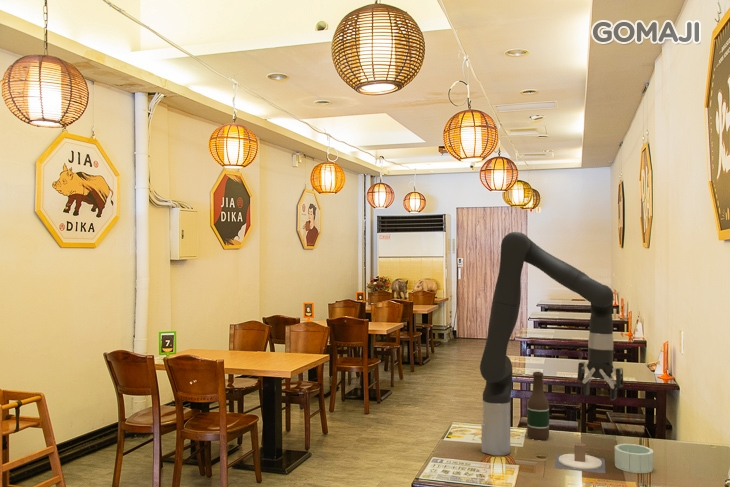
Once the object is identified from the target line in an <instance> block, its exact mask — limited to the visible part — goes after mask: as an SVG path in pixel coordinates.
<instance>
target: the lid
mask: <svg viewBox="0 0 730 487" xmlns="http://www.w3.org/2000/svg"><path fill="white" fill-rule="evenodd" d="M573 450H574V453H567V454H565V453H564V455H561V456H560V457H559V463H560V464H562V465H563V466H566V467H569V468H573V469H579V470H594V469H599V468H600V467H601V466H602V462H601V460H599V459H598V458H599V457H595V456H593V455H588V454H586V443H584V442H574V448H573Z"/></svg>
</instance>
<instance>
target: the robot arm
mask: <svg viewBox="0 0 730 487" xmlns="http://www.w3.org/2000/svg"><path fill="white" fill-rule="evenodd" d="M499 259H500V260H499V270H498V275H497V279H496V282H495V287H494V291H493V297H492V303H491V307H490V313H489V314H490V315H489V320H488V321H489V322H488V329H487V336H486V342H485V345H484V348H483V353H482V356H481V360H480V364H479V371H480V375H481V377H482V378H483V379H484V381H485V387H484V390H483V391H482V423H481V453H484V454H488V455H491V456H506V455H507V456H508V455H510V453H511V396H512V391H513V364H512V361H511V359H510V357H509V356H508V355H507V353H508V352H507V350H508V346H509V342H510V338H511V337H512V334H513V332H514V330H515V328H516V324H517V322H518V319H519V315H520V314H519V313H520V308H521V301H522V286H521V285H522V282H521V280H522V279H521V278H522V271H523V267H524V263H527V264H530V265H531V266H533V267H535V268H536V269H538V270H540V271H542V273H544V274H545V275H547V276H549V278H551V279H552V280H554V281H555V282H556V283H559V284H560V285H561V286H563V287H565V288H566V289H568V290H570V291H571V292H573V293H576V294H578V295H579V296H581V297H582V298H583V299H584V300H586V301H588V302H589V303H590V317H589V329H588V330H589V331H588V332H589V334H588V339H587V340H588V341H587V343H588V344H587V346H588V347H587V348H588V351H587V360H588V361H587V362H588V363H586V362H585V361H581V362H578V365H577V367H578V368H577V378H576V379H577V381H580V382H581V383H582V388H583V389H582V393H583V394H584V396H589V395H590V394H591V392H590V390H591V386H590V382H591V381H592V379H600V380H603V381H605V382H606V383H607V384H608V385H609V387H610V388H609V400H610V401H615V400H616V399H617V398H618V396H617V394H618V389H620V388H623V387H624V368H622V367H614V366H613V363H614V337H613V336H614V334H613V333H614V332H613V330H614V323H613V322H614V321H613V308H614V307H613V306H614V298H615V297H614V296H615V295H614V292H613V290H612V288H610V286H608V285H606V284H604V283H603V284H602V283H600V282H599V281H597V280H595V279H593V278H592V277H590V276H588V274H587V273H585V272H583V271H581V270H580V269H578V268H576V267H575V266H574V265H571V264H570V263H568V262H565V261H564V260H561V259H559V258H558V257H556V256H554V255H552V254H551V253H549V252H548V251H546V250H545V249H543V248H542V247H540V246H539V245H537V244H536V242H534V241H532V240H531V238H529V237H528V236H527V234H525V233H522V232H520V231H514V232H509V233H508V234H506V235H505V236H504V237H503V238H502V240H501V243H500V258H499ZM586 370H588V371H589V372H588V373H587V374H586ZM585 374H586V375H585ZM612 374H614V375H612ZM614 376H615V377H614Z"/></svg>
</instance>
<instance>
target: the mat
mask: <svg viewBox="0 0 730 487" xmlns="http://www.w3.org/2000/svg"><path fill="white" fill-rule="evenodd" d="M561 455H565V453H564V454H563V453H562V454H561V453H556V457H555V461H554V469H560V470H562V469H563V470H567V471H579V472H588V473H594V474H595V473H598V474H606V462H605V461H606V460H605V458H601V457H597V458H598V459H599V460H601V462H602V466H601V467H600V468H599V469H594V470H579V469H573V468H569V467H566V466H563V465H562V464H560V463H559V457H560V456H561Z"/></svg>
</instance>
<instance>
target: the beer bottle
mask: <svg viewBox="0 0 730 487" xmlns="http://www.w3.org/2000/svg"><path fill="white" fill-rule="evenodd" d="M532 376H533V379H532V380H533V382H532V392H531V395H530V397H529V398H528V400H527V406H526V408H527V409H526V419H527V421H526V422H527V423H526V425H527V426H526V429H527V430H526V431H527V432H526V433H527V434H526V435H527V438H528V437H529V438H528V439H530V440H531V439H534V440H533V441H538V440H544V441H547V440H549V438H550V404H549V401H548V400H549V399H548V398H547V397H546V396H545V393H544V392H545V391H544V378H543V377H544V373H543V372H541V371H533V373H532Z"/></svg>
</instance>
